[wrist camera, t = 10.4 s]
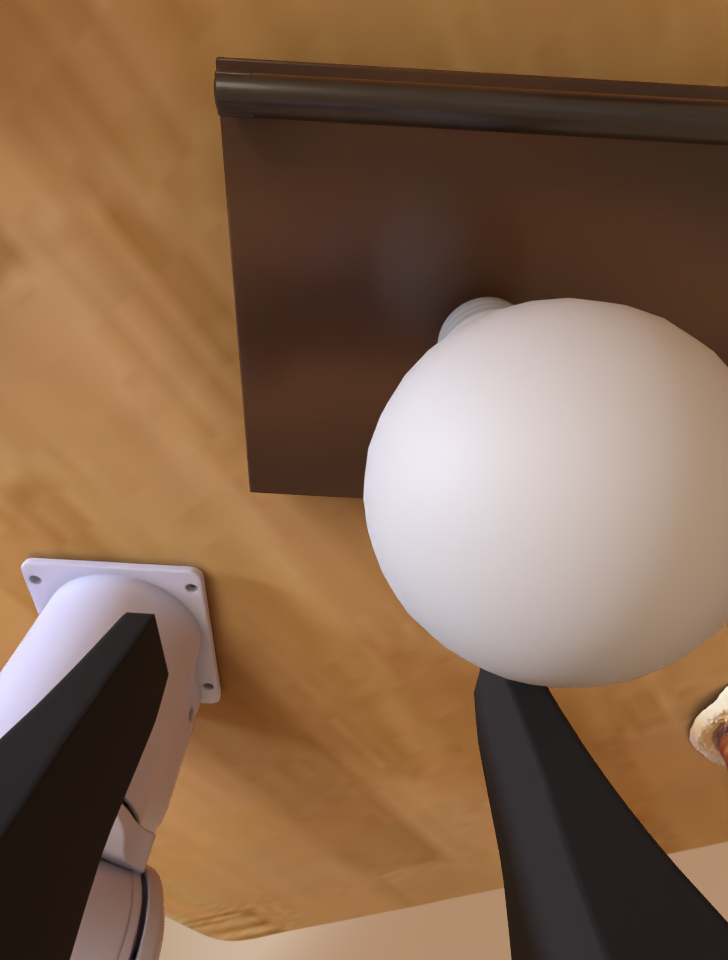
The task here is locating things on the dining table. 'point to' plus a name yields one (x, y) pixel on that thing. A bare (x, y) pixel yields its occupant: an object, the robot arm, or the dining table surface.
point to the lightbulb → (557, 491)
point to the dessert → (712, 731)
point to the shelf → (445, 229)
